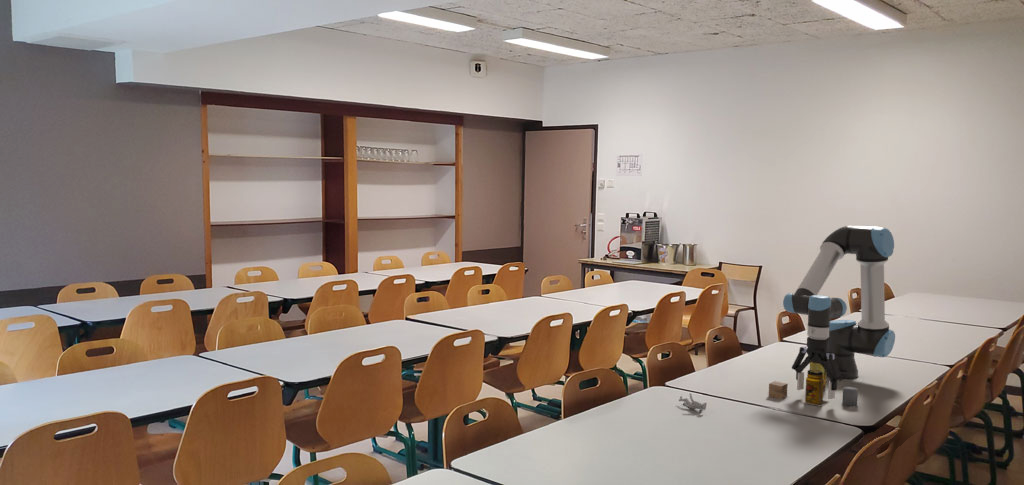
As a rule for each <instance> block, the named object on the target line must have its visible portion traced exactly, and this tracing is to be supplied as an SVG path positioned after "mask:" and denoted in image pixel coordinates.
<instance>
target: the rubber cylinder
mask: <svg viewBox="0 0 1024 485" xmlns="http://www.w3.org/2000/svg"><path fill="white" fill-rule="evenodd" d="M858 393H859V389H858V388H857V387H853V386H844V387H842V402H841V403H842V404H841V405H843V406H845V405H846V407H850V406H852V407H853V406H855V407H858V397H859V396H858ZM853 408H854V407H853Z"/></svg>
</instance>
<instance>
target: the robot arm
mask: <svg viewBox="0 0 1024 485" xmlns="http://www.w3.org/2000/svg"><path fill="white" fill-rule="evenodd" d="M894 249H895V239H894V236H893V233H892V232H891V231H890V230H889V229H888V228H886V227H882V226H881V227H880V226H872V225H871V226H870V225H869V226H868V225H867V226H866V225H844V226H842V227H839V228H838V229H836V230H834V231H833V232H832V233H830V234H829V235H828V236H826V238H824V240H823V242H822V243H821V245H820V247H819V253H818V255H817V256H816V257H815V260H814V261H813V262H812V265H811V266H810V268H809V269H808V271H807V272H806V275H805V276H804V278H803V279H802V281H801V282H800V284H799V285H798V286H797V289H796V290H795V292H794V293H793V292H788V293H787V294H785V295H784V297H783V302H782V305H783V308H784V310H785V311H786V312H788V313H792V314H798V315H804V316H807V332H806V335H807V338H806V346H801V347H799V349H798V350H799V351H798V354H797V356H796V357H795V359H794V362H793V363H792V365H791V369H792V370H794V371H795V372H796V374H795V378H796V381H797V382H796V384H797V385H796V390H798V391H800V390H801V391H802V390H804V387H805V386H804V384H805V382H804V381H805V372H804V370H805V369H806V368H807V367H808V365H810V362H811V361H812V362H816V363H820V364H821V365H822V366H823V368H824V369H825V371H826V377H828V378H829V381H828V389H827V390H828V391H827V399H828V400H833V399H835V397H836V395H835V394H836V391H837V390H838V382H841V381H843V379H853V378H857V377H858V376H859V369H858V366H857V363H856V359H855V354H861V355H865V356H871V357H874V358H875V357H878V358H886V357H888V356H889V355H890V354H891V353H892V350H893V348H894V345H895V342H896V334H895V331H894V330H892V329H890V324H889V323H888V322H887V320H886V319H885V318H886V317H885V316H886V314H885V313H886V312H885V308H886V307H885V263H887V262H888V261H889V257H891V256H893V253H894ZM849 254H850V255H855V260H856V261H857V262H858V263H859V264H860V309H861V314H860V315H861V316H860V318H861V320H859V321H858V322H857V321H856V320H854V319H840V318H841V317H843V316H844V315H845V314H846V312H847V310H848V306H847V303H846V302H845V301H844V300H843V299H842V298H841V297H840V298H839V297H830V296H827V295H819V293H820V291H821V290H822V288H823V287H824V284H825V283H826V281H827V279H828V278H829V276H830V274H831V273H832V271H833V269H834V268H835V266H836V265H837V263H838V261H840V260H841V259H843V258H844V257H845V255H849ZM832 319H833V320H832ZM834 319H837V320H834ZM806 355H807V356H806ZM805 356H806V357H805ZM824 361H825V362H824Z"/></svg>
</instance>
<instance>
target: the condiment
mask: <svg viewBox="0 0 1024 485" xmlns="http://www.w3.org/2000/svg"><path fill="white" fill-rule="evenodd" d="M823 384H824V380H823V372H822V371H819V370H810V369H808V370H807V377H806V378H805V397H804V398H805V399H804V400H803V401H802V402H801V403H802V404H806V405H807V404H808V405H811V406H818V407H823V406H824V405H826V404H827V403H828V402H829V400H824V389H823Z"/></svg>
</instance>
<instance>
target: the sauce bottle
mask: <svg viewBox="0 0 1024 485" xmlns="http://www.w3.org/2000/svg"><path fill="white" fill-rule="evenodd" d="M824 362H825V361H824ZM809 370H819V371H822V372H823V380H824V384H823V390H825V389H826V386H827V375H826V371H825V369H824V368H823V366H822V365H821V364H820V363H816V362H812V361H811V362H810V363H809Z"/></svg>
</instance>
